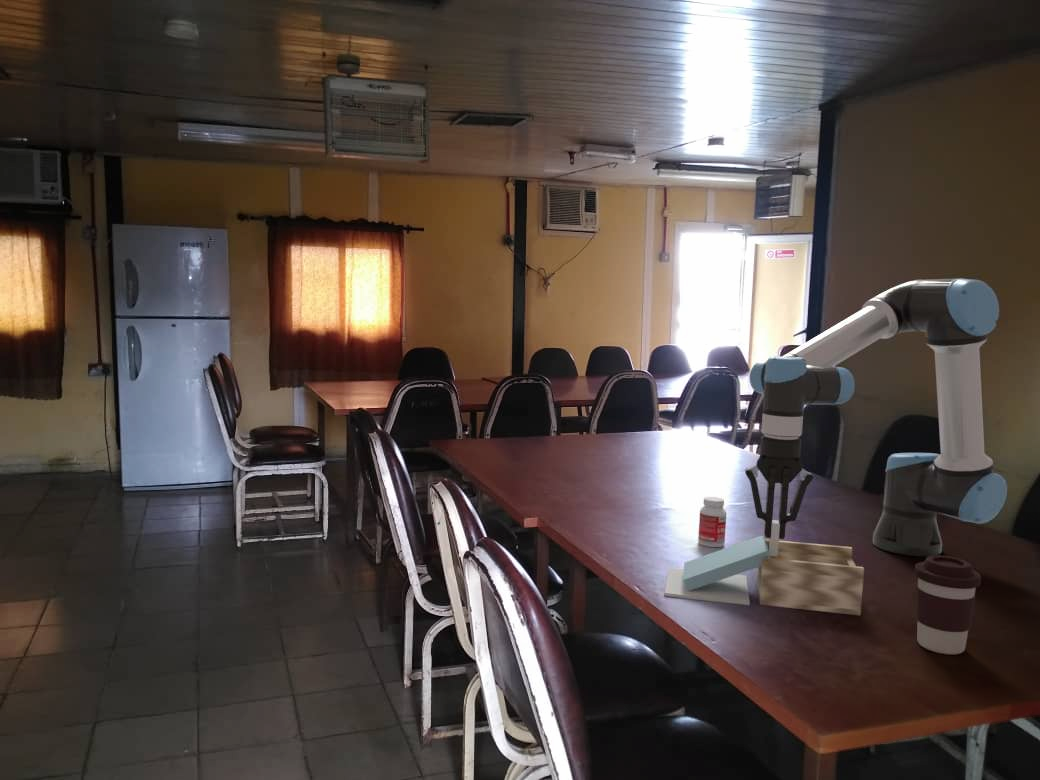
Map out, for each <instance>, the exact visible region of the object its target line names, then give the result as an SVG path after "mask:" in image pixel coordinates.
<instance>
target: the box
mask: <svg viewBox="0 0 1040 780" xmlns="http://www.w3.org/2000/svg"><path fill="white" fill-rule="evenodd" d="M764 539H765V542H766V544H767V547H768V551H769V542H770V539H769V538H768V539H767V538H764ZM769 555H770V554H769ZM852 557H853V547H851V546H845V545H844V546H841V545H832V544H823V543H822V544H819V543H810V542H800V541H788V540H779V544H778V556H770V558H765V557H763V561H762V566H760V567H757V568H756V575H755V582H756V583H755V584H756V589H757V594H758V600H759V605H762V606H769V607H770V606H771V607H778V608H789V609H797V610H804V611H805V610H807V611H816V612H817V611H818V612H827V613H835V614H844V615H852V616H861V611H862V598H863V587H864V576H865V575H864V574H865V568H864V566H857V565H856V563H855V562H854V560H853V558H852Z"/></svg>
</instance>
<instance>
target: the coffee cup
mask: <svg viewBox="0 0 1040 780" xmlns="http://www.w3.org/2000/svg"><path fill="white" fill-rule="evenodd" d="M914 576H915V577H916V578H917V584H916V594H915V596H916V598H915V599H916V601H915V602H916V605H915V607H916V608H915V609H916V610H915V618H916V620H917V626H916V627H917V631H916V632H917V633H916V635H917V636H916V640H917V643H918V644H919V645H920V646H921V647H923V648H924V649H926V650H929V651H932V652H933V653H938V654H943V655H960V654H962V653H964V651H965V650H966V646H967V639H968V635H969V634H968V633H969V630H970V629H971V626H972V619H973V614H974V608H975V602H976V594H975V593H976V589H977V588H979V587H980V585H981V580H982V575H981V574H980V573H979V572H978V571H976V570H974V569H973V566H972V565H971V563H970V562H969V561H966V560H964V559H962V558H958V557H953V556H947V555H940V554H939V555H935V556H926V557H925V560H924V561H920V562H918V563H916V564H915V566H914Z"/></svg>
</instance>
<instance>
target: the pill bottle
mask: <svg viewBox="0 0 1040 780" xmlns="http://www.w3.org/2000/svg"><path fill="white" fill-rule="evenodd" d="M724 506H725V499H723V498H722V497H717V496H706V497H704V498H703V506H702V507H701V508H700V510H699V523H698V539H697V540H698V543H699V545H701V546H703V547H707V548H714V547H715V548H716V547H717V548H721V547H724V546H725V541H726V528H727V526H726V525H727V510H726V509H725V508H724Z"/></svg>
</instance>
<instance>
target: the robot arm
mask: <svg viewBox="0 0 1040 780" xmlns="http://www.w3.org/2000/svg"><path fill="white" fill-rule="evenodd" d="M999 317H1000V305H999V300H998V297H997V295H996V293H995V292H994V290H993V289H992V287H990V286H989V285H988V283H986V282H984V281H982V280H979V279H968V278H963V277H962V278H961V277H959V278H942V279H941V278H935V279H933V278H932V279H931V278H930V279H926V278H925V279H923V278H921V279H914V280H909V281H906V282H904V283H901V284H897V285H896V286H893V287H891V288H889V289H887V290H885V291H883V292H882V293H879V294H878V295H875V296H874V297H872V298H870V299H869V300H867V301H866V302H864V304H863V305H862V307H861V309H860V310H859V311H857V312H855V313H853V314H852V315H850V316H849V317H846V318H845V319H844V320H842V321H840V322H839V323H836V324H835V325H833V326H832V327H830V328H828V329H827V330H825V331H823V332H821V333H819V334H818V335H817V336H815V337H813V338H811V339H810V340H808V341H807V342H805V343H803V344H801V345H799V346H798V347H795V348H794V349H793V350H791V351H789V352H787V353H786V354H784V355H783V356H782V355H781V356H780V355H778V356H777V355H775V356H770V357H769V358H768V359H766V360H765V359H764V360H760V361H757V362H755V364H753V366H751V367H752V368H751V370H750V372H749V382H750V386H751V388H752V390H753V391H755V392H756V393H758V394H761V395H763V400H762V401H763V404H762V406H763V407H762V420H761V431H760V432H761V433H762V434H763V435H762V436H761V437H760V446H759V447H760V448H759V457H758V458H757V460H756V464H754V465H752V466H751V467H746V468H745V469H744V472H745V475H746V477H747V479H748V480H749V483H750V488H751V493H752V497H753V503H754V509H755V514H756V517H757V519H761V520H763V521H764V531H763V532H764V536H765V537H764V538H765V539H767V538H768V539H769V540H770V542H769V554H770V556H778V544H779V541H780V540H784V539H785V538H786V537H785V536H786V527H787V526H786V525H787V523H789V522H795V521H796V519H797V517H798V515H799V511H800V509H801V505H802V503H803V499H804V497H805V493H806V490H807V488H808V486H809V485H810V483H811V482H812V481H813V479H814V475H813V474H812V472H810V471H807V470H805V469H804V468H803V464H802V462H801V453H802V452H801V450H802V449H801V448H802V439H801V438H800V437H801V436H802V435H803V422H804V408H805V406H810V405H812V406H814V405H815V406H817V405H819V406H820V405H822V406H824V405H825V406H826V405H830V406H835V405H841V404H845V403H847V402H848V401H850V399H851V398H852V397H853V395H854V393H855V385H856V383H855V379H854V376H853V374H852V372H851V371H850V370H849V369H847V368H845V367H841V366H837V365H838V364H840V363H842V362H843V361H845V360H847V359H848V358H851V356H853V355H855V354H856V353H858V352H860V351H861V350H863V349H865V348H866V347H868V346H870V345H871V344H873V343H875V342H876V341H878V340H880V339H890V338H892V337H894V336H895V335H897V334H900V333H907V332H908V333H910V332H919V333H920V332H921V333H925V342H926V343H925V344H926V345H927V346H928V347H929V348H930V349H932V350H933V352H934V363H935V379H936V380H935V381H936V393H937V395H936V396H937V411H938V412H937V413H938V414H937V415H938V428H939V431H938V433H939V443H940V444H939V446H940V454H939V453H932V452H899V453H892V454H890V456H888V458H887V462H886V468H885V471H884V473H885V474H884V475H885V476H884V478H885V479H884V493H883V507H882V514H881V516H880V518H879V521H878V522H877V524H876V527H875V530H874V531H873V534H872V544H873V545H874V546H875V547H876V548H878V549H881V550H883V551H886V552H890V553H893V554H897V555H898V554H899V555H903V556H909V557H910V556H911V557H929V556H935V555H939V556H940V555H941V554H942V553H943V552H942V550H943V541H942V537H941V534H940V530H939V526H938V522H937V514H939V515H942V516H946V517H950V518H954V519H958V520H960V521H962V522H970V523H973V524H980V525H981V524H985V523H988V522H990V521H991V520H993V519H994V518H996V516H997V515H998V514H999V513H1000V510H1001V509H1003V506H1004V504H1005V502H1006V499H1007V494H1008V484H1007V482H1006V479H1005V478H1004V476H1002V475H1000V474H998V473H996V472H994V461H993V459H992V458H991V457H990V456H989V455H987V454H986V453H985V438H984V437H985V436H984V435H985V434H984V420H983V419H984V418H983V417H984V414H983V398H982V397H983V395H982V378H981V377H982V376H981V357H980V356H981V355H980V352H981V351H980V348H981V346H982V345H983V344H985V343H986V342H987V341H988V334H989V333H991V332H992V331H994V329H995V328H996V326H997V322H996V321H998V320H999ZM758 472H760V474H761V475H762V476H763V478H764V480H765V481H766V485H767V487H766V500H765V502H766V503H765V511H763V506H762V502H761V497H760V492H759V486H758V480H757V477H758V476H759V473H758ZM798 475H799V476H798ZM797 476H798V478H799V480H800V481H799V483H798V485H797V487H796V491H795V493H794V494H795V495H794V497H793V501H792V503H791V506H790V509H789V512H788V498H789V489H790V484H791V483H792V482H793V481H794V479H795V478H796V477H797ZM776 484H780V492H779V493H780V494H779V507H778V509H779V510H778V519H773V518H774V517H773V516H774V506H775V505H774V502H775V488H776Z"/></svg>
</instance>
